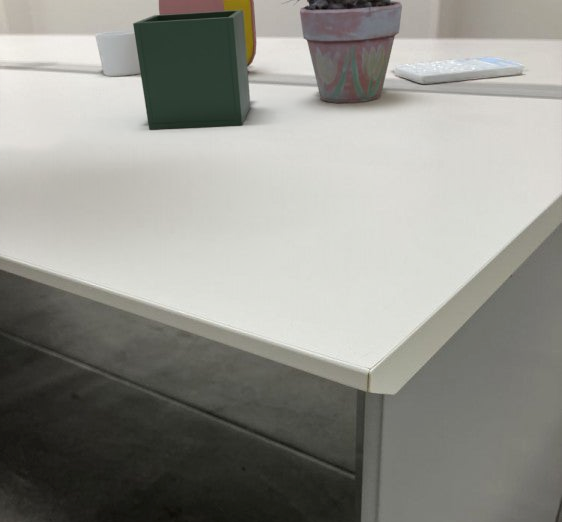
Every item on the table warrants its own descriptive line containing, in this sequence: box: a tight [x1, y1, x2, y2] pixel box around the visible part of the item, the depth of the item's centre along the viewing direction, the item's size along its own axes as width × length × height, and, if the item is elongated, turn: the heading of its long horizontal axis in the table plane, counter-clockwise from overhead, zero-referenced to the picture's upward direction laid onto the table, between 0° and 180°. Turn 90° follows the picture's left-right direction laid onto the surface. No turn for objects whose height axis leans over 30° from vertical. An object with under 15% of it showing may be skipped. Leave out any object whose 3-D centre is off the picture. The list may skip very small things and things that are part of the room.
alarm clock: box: [158, 0, 257, 68], centre depth 139 cm, size 18×11×19 cm, turn 49°
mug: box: [94, 29, 141, 77], centre depth 151 cm, size 13×10×8 cm
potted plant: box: [281, 0, 403, 104], centre depth 105 cm, size 18×20×25 cm
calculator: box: [394, 56, 525, 85], centre depth 124 cm, size 13×20×2 cm, turn 104°
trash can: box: [132, 10, 251, 131], centre depth 100 cm, size 14×14×14 cm
